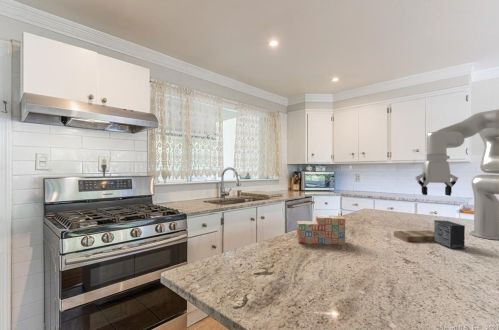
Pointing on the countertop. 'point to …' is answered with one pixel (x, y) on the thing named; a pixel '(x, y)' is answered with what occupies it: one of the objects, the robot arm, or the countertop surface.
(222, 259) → the countertop surface
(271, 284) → the countertop surface
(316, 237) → the stack of blocks
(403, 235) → the walnut board
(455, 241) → the small box
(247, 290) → the countertop surface
